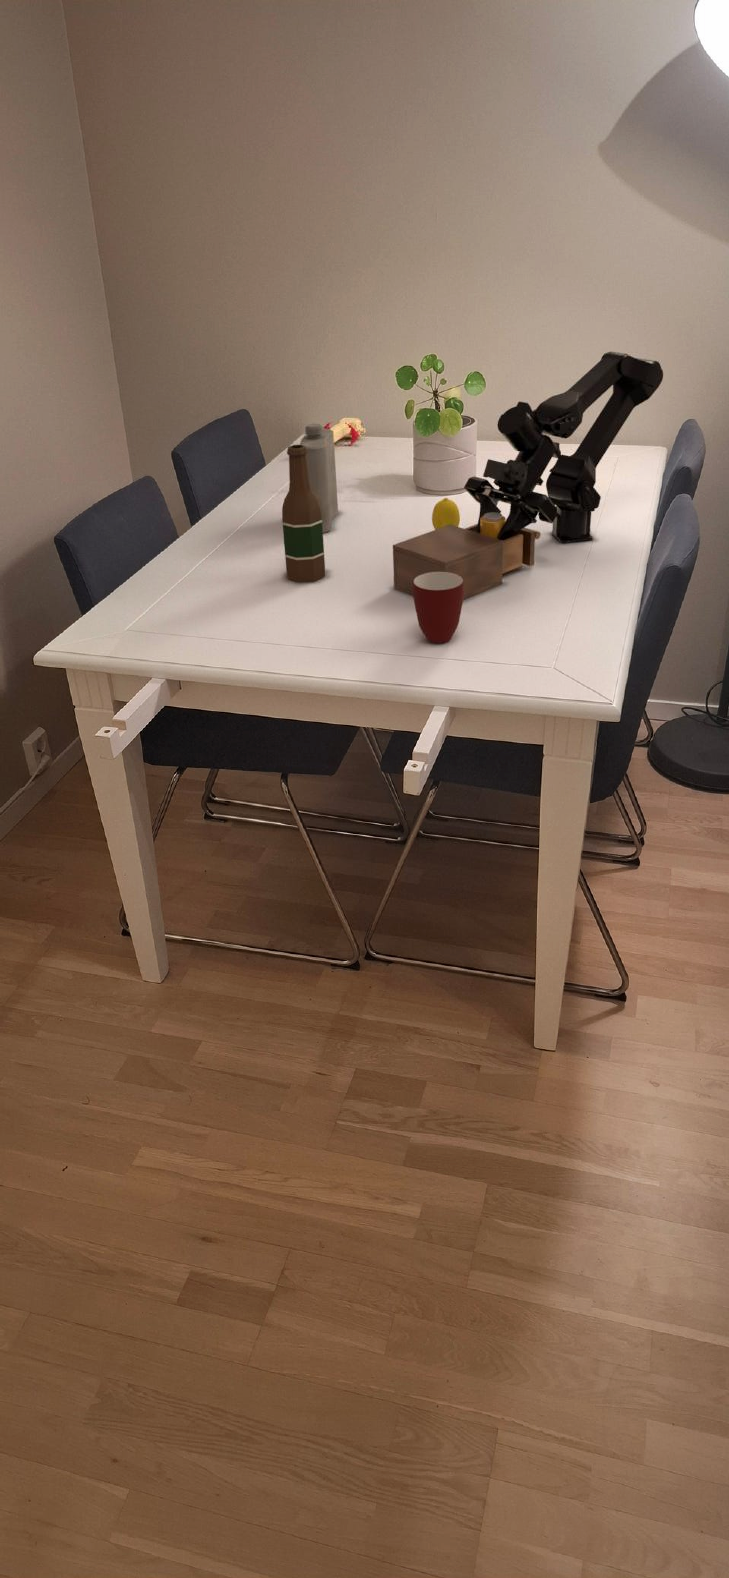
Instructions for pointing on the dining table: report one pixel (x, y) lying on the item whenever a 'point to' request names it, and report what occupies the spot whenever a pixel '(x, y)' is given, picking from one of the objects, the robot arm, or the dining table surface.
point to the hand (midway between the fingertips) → (487, 539)
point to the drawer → (517, 548)
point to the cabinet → (450, 559)
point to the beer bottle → (302, 523)
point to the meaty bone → (347, 429)
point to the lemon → (445, 514)
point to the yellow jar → (491, 524)
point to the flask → (322, 470)
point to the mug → (438, 604)
